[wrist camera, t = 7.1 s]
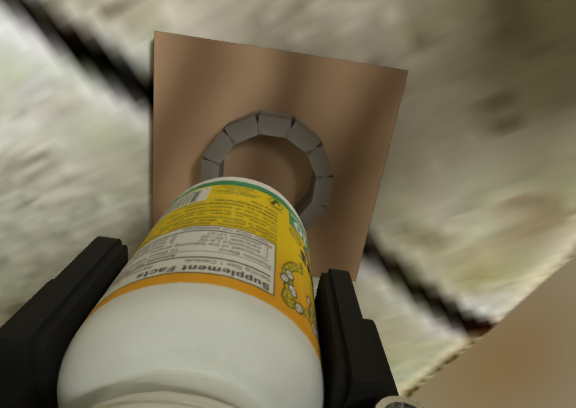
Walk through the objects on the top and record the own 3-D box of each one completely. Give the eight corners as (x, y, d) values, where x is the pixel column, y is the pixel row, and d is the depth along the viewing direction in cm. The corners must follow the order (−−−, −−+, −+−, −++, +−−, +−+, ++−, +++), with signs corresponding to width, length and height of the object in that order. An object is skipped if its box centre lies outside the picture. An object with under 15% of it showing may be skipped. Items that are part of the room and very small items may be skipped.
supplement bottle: (170, 158, 13) (-105, 410, 4) (323, 189, 13) (404, 480, 4) (157, 289, 15) (-43, 659, 6) (290, 312, 15) (298, 687, 6)
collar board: (401, 69, 27) (420, 72, 23) (352, 271, 33) (361, 299, 29) (161, 31, 26) (140, 28, 22) (157, 248, 32) (141, 274, 28)
